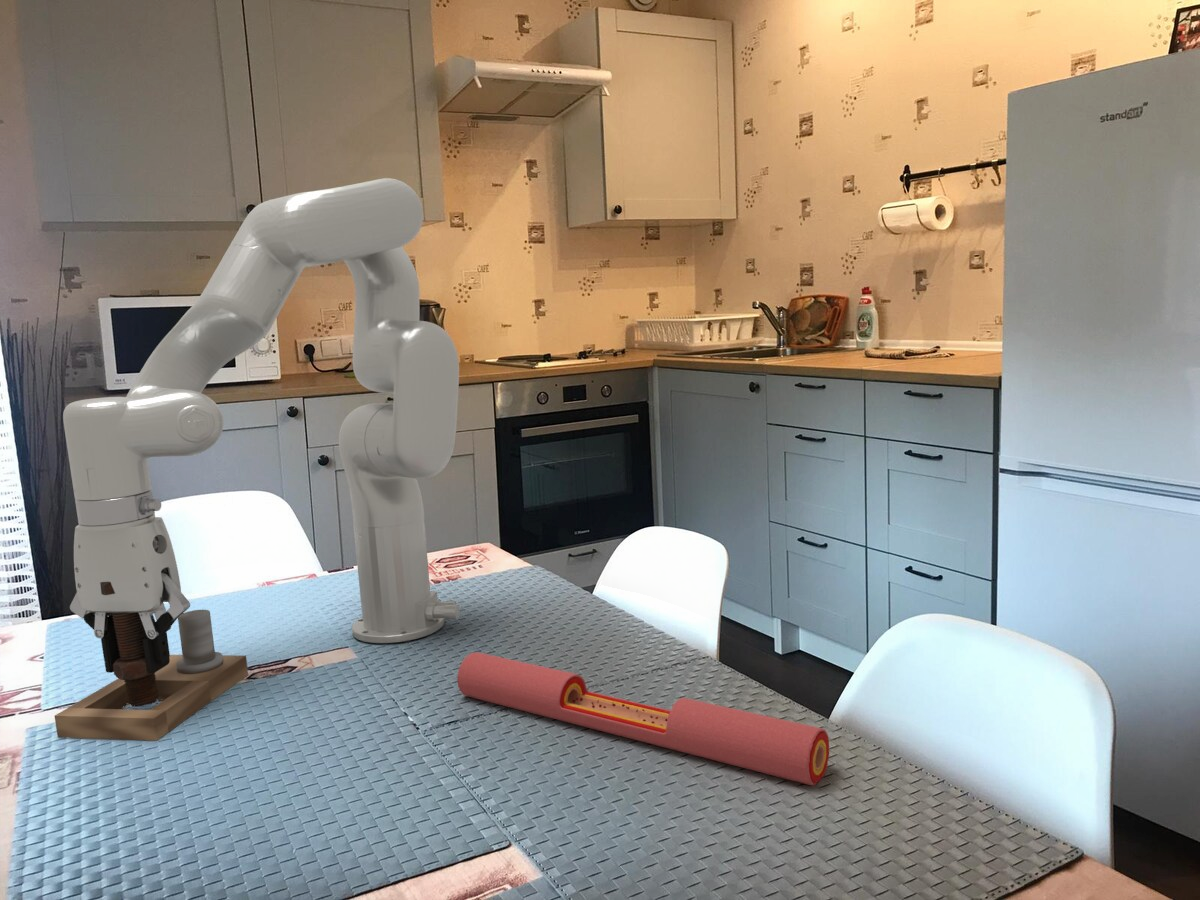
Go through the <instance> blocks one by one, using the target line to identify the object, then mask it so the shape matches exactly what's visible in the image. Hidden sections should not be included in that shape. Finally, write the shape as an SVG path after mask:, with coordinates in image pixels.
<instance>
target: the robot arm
mask: <svg viewBox="0 0 1200 900" xmlns="http://www.w3.org/2000/svg"><path fill="white" fill-rule="evenodd" d="M423 222H424V209H423V204H422V201H421V199H420V197H419V195H418V194H417V192H416V191H415V190H414V189H413V188H412V187H411V186H410V185H408V184H406V183H405V182H404V181H401V180H398V179H396V178H389V177H383V178H379V179H374V180H367V181H364V182H359V183H354V184H349V185H343V186H337V187H333V188H332V187H331V188H325V189H318V190H312V191H304V192H297V193H293V194H289V195H285V196H281V197H276V198H271V199H268V200H265V201H263V202H261V203H259V204H257V205H256V206H255V207H254V208H253V209H252V210H251V211H250V212H249V213H248V214H247V216H246V217H245V219H244V220H243V222H242V224H241V225H240V227H239V229H238V230H237V232H236V234H235V235H234V238H233V239H232V240H231V242H230V245H229V246H228V247H227V250H226V251H225V253H224V254H223V257H222V259H221V260H220V262H219V264H218V265H217V267H216V269H215V270H214V272H213V274H212V276H211V277H210V279H209V280H208V282H207V284H206V286H205V287H204V289H203V291H202V292H201V294H200V295H199V297H198V299H196V302H195V303H193V305H191V307H190V308H189V309H188V310H186V312H185V313H184V315H182V317H180V319H179V320H178V321H177V322H176V324H175V325H174V326H173V327H172V328H171V330H169V332H168V333H167V334H166V335H165V336H164V337H163V338H162V339H161V340H160V342H159V343H158V345H156V347H155V348H154V350H153V351H152V353H151V354H150V356H149V357H148V358H147V360H146V362H144V365H143V367H142V368H141V370H140V371H139V373H138V375H137V377H136V379H135V380H134V382H133V384H132V385H131V388H130V389H129V391H128V393H127V394H126V396H108V397H106V396H105V397H97V398H95V397H94V398H86V399H80V400H76V401H73V402H70V403H69V404H67V405H66V406H65V408H64V410H63V413H62V414H63V415H62V419H63V421H62V422H63V428H64V434H65V441H66V448H67V454H68V455H67V456H68V461H69V468H70V469H69V470H70V477H71V481H72V488H73V489H72V490H73V494H74V495H73V496H74V502H75V508H76V514H77V522H78V525H76V526H75V527H74V539H73V569H74V571H73V572H74V580H75V581H74V582H75V589H76V593H75V595H74V597H73V599H72V601H71V603H70V605H69V609H70V611H71V612H72V613H73V614H76V616H78V617H79V618H81V619H83V620H84V622H85V623H86V624H87V625H88V626H89V627H90V628H91V629H92V630H93V634H94V636H95V638H97V639H100V640H101V641H100V642H101V648H102V653H103V661H104V666H105V672H106V673H111V674H112V673H114V671H113V664H114V662H115V661H116V660H117V659H119V658H120V657H121V656H119V655H120V653H119V652H120V651H119V650H118V649H119V648H118V646H119V645H118V644H117V643H118V642H117V640H118V639H116V637H117V636H116V634H117V633H115V631H116V630H115V627H114V626H115V625H114V621H113V620H114V619H113V618H112V617H113V616H112V614H113V613H139V615H140V618H141V620H142V623H143V626H144V629H145V632H146V634H147V636H148V637H147V638H146V639H144V640H143V647H144V654H145V661H146V668H147V672H148V673H155V672H157V671H158V670H160V669H162V668H163V667H165V666H166V665H168V664H169V662H170V659H169V657H170V655H171V654H170V648H169V646H170V645H169V641H168V631H170V630H171V629H172V626H173V625H174V623H175V622H176V620H178V617H179V616H180V615H181V614H183V613H185V612H187V610H188V609H189V608H190V607H191V602H190V600H189V599H187V597H186V596H185V595H184V593H183V592H182V588H181V587H182V586H181V580H180V574H179V570H178V564H177V560H176V556H175V551H174V548H173V544H172V540H171V537H170V535H169V531H168V529H167V527H166V523H165V522H164V520H163V518H162V516H161V517H159V516H156V515H155V514H156V512H159V511H160V510H161V508H162V501H161V500H160V499H159V498H154V497H153V491H152V484H151V479H150V478H151V477H150V469H149V463H148V459H149V458H161V457H163V458H164V457H168V458H169V457H171V458H172V457H189V456H195V455H198V454H201V453H203V452H206V451H207V450H209V449H210V448H212V447H213V446H214V445H215V444H216V443H217V442H218V441H219V440H220V437H221V435H222V433H223V430H224V416H223V412H222V411H221V409H220V407H219V406H218V404H217V403H216V402H215V401H214V400H213V399H212V398H211V397H209V396H207V395H206V394H204V393H202V392H203V391H204V389H205V388H206V386H207V385H208V383H209V382H210V381H211V380H212V378H213V377H214V376H215V375H216V374H217V373H218V372H219V371H220V369H222V368H223V367H224V366H225V365H226V364H227V363H228V362H230V361H232V360H233V359H235V358H236V357H238V356H239V355H241V354H243V353H244V352H246V351H248V350H249V349H252V347H254V346H255V345H257V344H258V343H259V342H260V341H262V340H263V339H264V338H265V337H266V336H268V333H269V332H270V330H271V329H272V327H273V325H274V323H275V321H276V319H277V318H278V315H280V312H281V310H282V308H283V306H284V304H285V302H286V301H287V299H288V297H289V295H290V293H291V292H292V289H293V288H294V286H295V285H296V282H297V281H298V280H299V277H300V276H301V273H302V271H303V270H304V269H305V268H308V267H316V266H322V265H328V264H332V263H333V264H334V263H339V262H344V264H346V266H347V268H348V270H349V272H350V274H351V277H352V280H353V285H354V297H355V298H354V303H355V306H354V307H355V308H354V309H355V310H354V321H353V322H354V324H353V325H354V326H353V341H352V342H353V344H352V345H353V346H352V368H353V369H352V370H353V373H354V376H355V378H356V380H357V382H358V383H359V384H360V385H361V386H362V387H363V388H366V389H367V390H369V391H372V392H377V393H382V394H383V393H384V394H393V402H392V403H391V402H390V403H387V402H375V403H367V404H364V405H360V406H358V407H357V408H355V409H353V410H352V411H351V412H349V414H347V416H346V417H345V418H344V419H343V422H342V423H341V425H340V429H339V434H338V449H339V455H340V459H341V463H342V466H343V470H344V472H345V476H346V481H347V485H348V490H349V496H350V503H351V511H352V521H353V535H354V543H355V545H354V546H355V556H356V564H357V565H356V566H357V574H358V577H357V578H358V587H359V595H360V596H359V597H360V605H361V617H359V618H358V619H357V620H356V621H353V623H352V625H351V632H352V636H353V637H354V638H355V639H356V640H358V641H360V642H366V643H370V644H371V643H372V644H394V643H396V644H397V643H403V642H409V641H413V640H418V639H421V638H424V637H427V636H429V635H432V634H433V633H436V632H437V631H439V630H440V629H441V628H442V627H443V626H444V625H445V620H458V619H459V618H460V614H461V612H460V606H459V604H457V602H456V600H454V601H453V600H451V601H450V600H448V601H441V599H438V596H439V595H438V591H437V590H431V585H430V572H429V561H428V551H427V549H428V548H427V537H426V527H425V526H426V525H425V524H426V523H425V511H424V502H423V497H422V496H423V495H422V493H421V489H420V486H419V485H420V484H419V482H418V480H417V479H420V480H422V479H428V478H432V477H434V476H436V475H438V474H439V473H441V472H442V471H443V470H444V469H445V468H446V466H447V465H448V463H449V462H450V459H451V458H452V455H453V452H454V447H455V442H456V435H457V422H458V421H457V420H458V419H457V418H458V404H459V388H460V387H459V384H460V362H459V355H458V351H457V348H456V345H455V343H454V341H453V339H452V337H451V335H450V334H449V333H448V332H447V331H446V330H445V329H443V328H442V327H441V326H439V325H438V324H436V323H434V322H430V321H426V320H425V321H424V320H420V283H419V277H418V275H417V271H416V268H415V266H414V264H413V261H412V259H411V258H410V256H409V255H408V253H407V252H406V250H405V249H404V246H406V245H407V244H410V243H411V242H412V241H413V240H414V239H416V237H417V235H418V234H419V232H420V231H421V228H422V226H423ZM100 582H111V585H112V587H113V589H114V592H115V594H111V595H102V594H101V585H100ZM164 603H168V604H169V608H168V609H166V606H165V604H164Z"/></svg>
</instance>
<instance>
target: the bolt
mask: <svg viewBox="0 0 1200 900" xmlns="http://www.w3.org/2000/svg"><path fill="white" fill-rule="evenodd" d="M100 585H101V594H102V595H111V594H115V592H114V589H113V587H112V585H111V582H100ZM112 616H113V617H112V618H113V619H114V620H113V621H114V625H115V626H114V627H115V630H116V631H115V633H117V634H116V636H117V637H116V639H118V640H117V642H118V643H117V644H118V645H119V646H118V648H119V649H118V650H119V651H120V652H119V653H120V655H119V656H121V657H120V658H119V659H117V660H116V661H115V662H114V664H113V671H114V672H113V675H114V676H115V677H116V679H120V680H125V681H124V682H126V683H125V685H126V686H125V687H126V688H127V689H126V691H127V692H126V693H127V697H128V698H127V699H128V702H129V703H128V704H127V705H130V706H131V707H138V708H139V707H144V706H148V705H152V704H155V702H156V701H158V700H157V698H158V696H159V694H158V689H157V683H156V680H155V679H156V677H155V673H148V672H147V668H146V661H145V654H144V647H143V640H144V639H146V638H147V637H148V636H147V634H146V632H145V629H144V626H143V623H142V620H141V618H140V615H139V613H113V614H112Z"/></svg>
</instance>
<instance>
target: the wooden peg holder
mask: <svg viewBox="0 0 1200 900" xmlns="http://www.w3.org/2000/svg"><path fill="white" fill-rule="evenodd" d="M211 618H212V617H211V611H210V610H209V609H193V610H190V611H185V612H184V613H183V614H181V615H180V616H179V617H178V618H177V623H178V632H179V637H180V640H179V641H180V646H181V647H180V648H181V653H182V654H170V657H169V659H170V662H169V664H168V665H166V666H165V667H163V668H162V669H160V670H158V671H157V672H155V677H156V679H155V680H156V683H157V689H158V694H159V696H158V698H157V700H156V701H160V702H159V703H158V704H156V705H154V706H153V707H152V708H150V709H130V708H129V709H125V708H124V707H126V706H127V705H129V704H128V703H129V702H128V699H127V698H128V697H127V693H126V692H127V691H126V689H127V688H126V687H125V686H126V685H125V683H126V682H124V681H125V680H120V679H118V678H116V679H114V680H113V681H111V682H110V683H109V684H106V685H105V686H102V687H101V688H99V689H98V690H97V691H94V692H93V693H90V695H88V696H86V697H84V698H82V699H81V700H79V701H77V702H75V703H74V704H73V705H71V706H68V707H67V708H65V709H64V710H62V711H60V712H58V713H56V714H55V715H54V721H55V729H56V734H57V738H58V737H70V738H69V739H87V740H88V739H89V740H91V739H92V740H122V741H123V740H124V741H127V740H128V741H152V742H154V741H155V742H157V741H158V740H160V739H161V738H163V737H164V736H165V735H167V734H168V733H169V732H171V731H172V730H174V729H175V728H177V727H178V726H180V725H181V724H182V723H184V722H185V721H186V720H188V719H189V718H190V717H192V716H193V715H194V714H196V713H197V712H199V711H200V710H201V709H203V708H204V707H206V706H207V705H209V704H210V703H211V702H213V701H214V700H216V698H218V697H220V696H221V695H222V694H223V693H225V692H227V691H228V690H229V689H231V688H232V687H234V686H235V685H236V684H238V683H239V682H241V680H244V678H245V677H247V676H249V669H248V662H247V661H248V660H247V656H246V655H232V654H229V655H227V654H226V655H225V654H224V655H223V653H221V652H219V651H216V650H215V643H214V633H213V627H212V619H211ZM122 708H124V709H122ZM73 737H75V738H73Z"/></svg>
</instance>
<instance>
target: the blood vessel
mask: <svg viewBox="0 0 1200 900" xmlns="http://www.w3.org/2000/svg"><path fill="white" fill-rule="evenodd" d="M456 681H457V685H458V686H457V688H458V689H459V691H460V692H461V694H462V695H463V696H466V697H468V698H473V699H476V700H480V701H483V702H488V703H491V704H495V705H499V706H504V707H506V708H510V709H515V710H518V711H523V712H527V713H531V714H534V715H537V716H541V717H545V718H550V719H552V720H558V721H560V722H565V723H569V724H573V725H577V726H580V727H584V728H588V729H591V730H592V729H593V730H597V731H600V732H603V733H607V734H612V735H615V736H619V737H623V738H627V739H631V740H635V741H639V742H642V743H646V744H650V745H654V746H657V747H661V748H666V749H669V750H673V751H677V752H680V753H685V754H688V755H691V756H695V757H696V756H697V757H700V758H704V759H708V760H712V761H716V762H719V763H724V764H728V765H731V766H735V767H738V768H742V769H746V770H750V771H754V772H758V773H762V774H765V775H770V776H773V777H777V778H781V779H785V780H787V781H792V782H796V783H801V784H805V785H809V786H811V787H812V786H816V785H817V783H819V782H820V781H821V779H822V778H823V777H824V776H825V775H826V771H827V769H828V765H829V763H828V762H829V760H830V740H829V735H828V733H827V731H826V730H825V729H824V728H823V727H822V728H821V727H817V726H812V725H808V724H804V723H800V722H795V721H789V720H786V719H782V718H777V717H773V716H768V715H763V714H759V713H755V712H749V711H745V710H741V709H736V708H731V707H729V706H728V707H727V706H723V705H718V704H713V703H710V702H705V701H701V700H697V699H691V698H688V697H687V698H686V697H683V698H682V697H681V698H679V699H678V700H676V701H675V702H674V704H673V705H672V707H671V708H670V710H669V709H665V708H661V707H657V706H653V705H648V704H645V703H641V702H636V701H631V700H627V699H624V698H623V699H622V698H619V697H615V696H614V697H613V696H610V695H605V694H601V693H597V692H593V691H589V690H588V689H587V684H586V682H585V678H584V677H582V676H581V675H579V674H577V673H573V672H570V671H564V670H560V669H555V668H549V667H545V666H541V665H537V664H532V663H527V662H523V661H519V660H514V659H509V658H505V657H501V656H496V655H492V654H487V653H482V652H477V651H475V652H474V651H473V652H471V653H469V654H468V655H467V656H465V657H464V659H463V660H462V662H461V664H460V665H459V668H458V672H457V679H456Z"/></svg>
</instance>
